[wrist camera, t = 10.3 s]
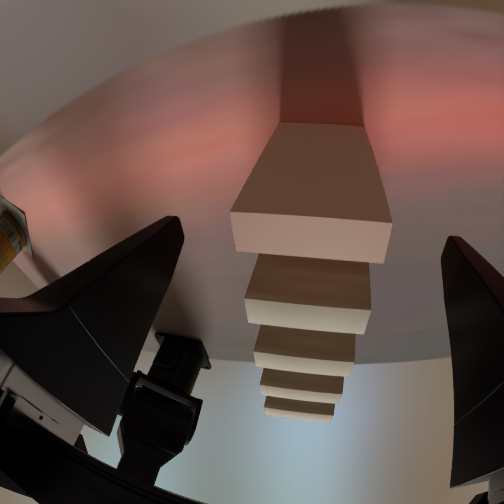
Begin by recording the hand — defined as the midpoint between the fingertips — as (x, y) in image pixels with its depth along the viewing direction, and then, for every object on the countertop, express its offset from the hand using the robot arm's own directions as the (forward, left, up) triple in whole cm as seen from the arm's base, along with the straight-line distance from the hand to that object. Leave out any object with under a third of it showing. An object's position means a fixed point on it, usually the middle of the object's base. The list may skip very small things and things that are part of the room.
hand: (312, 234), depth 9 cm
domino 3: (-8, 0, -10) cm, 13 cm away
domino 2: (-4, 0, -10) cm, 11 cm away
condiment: (-8, +38, -10) cm, 40 cm away
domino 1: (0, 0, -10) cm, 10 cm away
